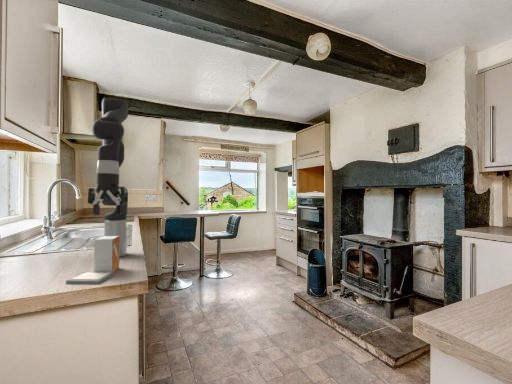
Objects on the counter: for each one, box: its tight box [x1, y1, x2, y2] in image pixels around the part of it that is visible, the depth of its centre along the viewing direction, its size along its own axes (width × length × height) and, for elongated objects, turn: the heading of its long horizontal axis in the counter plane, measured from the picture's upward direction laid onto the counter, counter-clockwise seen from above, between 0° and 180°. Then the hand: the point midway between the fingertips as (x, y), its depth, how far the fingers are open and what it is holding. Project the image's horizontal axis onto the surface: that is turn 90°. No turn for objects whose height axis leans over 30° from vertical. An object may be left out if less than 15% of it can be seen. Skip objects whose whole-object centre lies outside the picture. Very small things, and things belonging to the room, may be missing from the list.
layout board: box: [65, 271, 115, 285], centre depth 90 cm, size 9×11×1 cm
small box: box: [93, 235, 120, 273], centre depth 99 cm, size 8×6×13 cm
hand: (107, 215), depth 99 cm, fingers open, 8 cm apart
